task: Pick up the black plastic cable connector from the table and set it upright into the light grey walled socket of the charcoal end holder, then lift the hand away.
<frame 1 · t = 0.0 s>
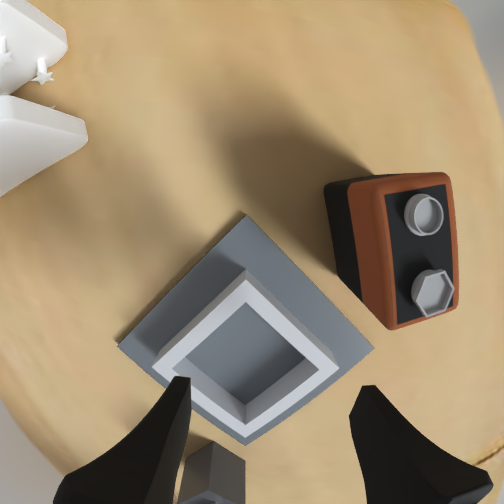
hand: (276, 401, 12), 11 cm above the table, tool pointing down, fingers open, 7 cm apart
battery: (358, 226, 22), on the table
cable organizer: (17, 127, 20), on the table
connector: (215, 459, 26), on the table
end holder: (245, 350, 23), on the table
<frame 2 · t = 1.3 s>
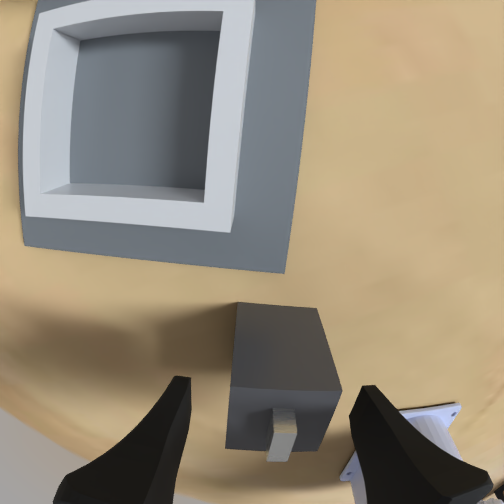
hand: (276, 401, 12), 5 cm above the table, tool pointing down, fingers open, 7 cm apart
connector: (272, 337, 17), on the table
end holder: (143, 107, 13), on the table
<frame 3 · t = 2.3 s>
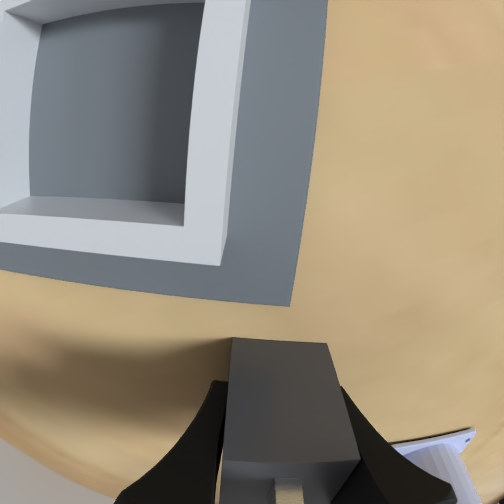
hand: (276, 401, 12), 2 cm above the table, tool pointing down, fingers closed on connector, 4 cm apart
connector: (274, 375, 14), on the table, touching gripper
end holder: (112, 100, 10), on the table
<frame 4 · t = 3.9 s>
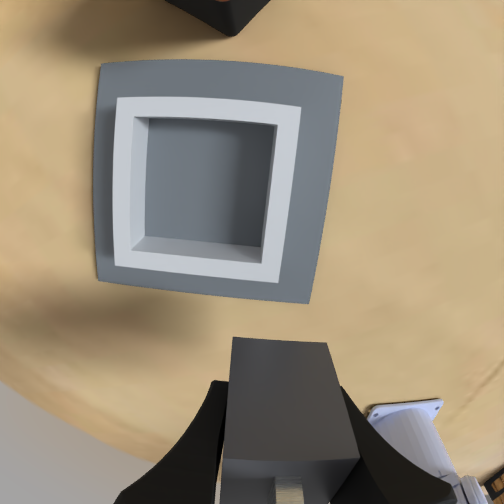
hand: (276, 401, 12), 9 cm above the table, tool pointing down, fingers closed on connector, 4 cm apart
connector: (274, 374, 14), point 7 cm above the table, touching gripper
end holder: (206, 180, 18), on the table
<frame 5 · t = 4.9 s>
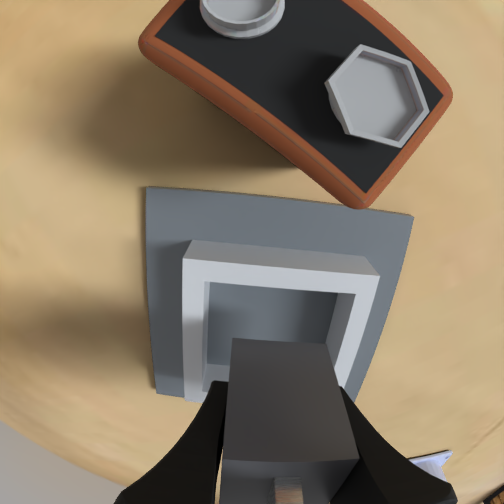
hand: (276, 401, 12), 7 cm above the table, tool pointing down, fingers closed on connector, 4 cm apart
battery: (277, 96, 14), on the table
connector: (273, 375, 14), point 5 cm above the table, touching gripper
ammunition clip: (502, 485, 36), on the table
end holder: (269, 318, 18), on the table
when the fingers open (4 cm above the table, at t = 5.8 s): connector drops 1 cm, resting on end holder.
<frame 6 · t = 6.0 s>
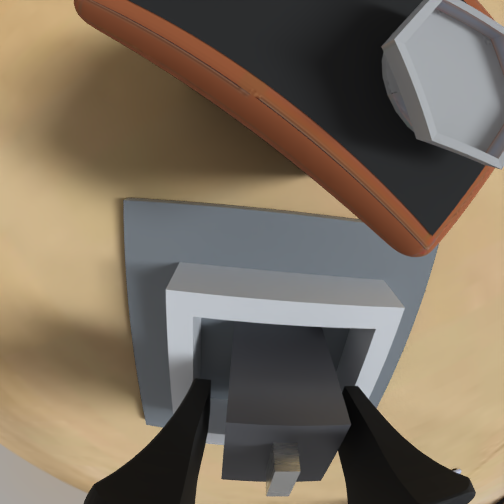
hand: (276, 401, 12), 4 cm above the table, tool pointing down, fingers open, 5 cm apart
battery: (282, 87, 12), on the table
connector: (272, 356, 15), resting on end holder
end holder: (272, 349, 16), on the table
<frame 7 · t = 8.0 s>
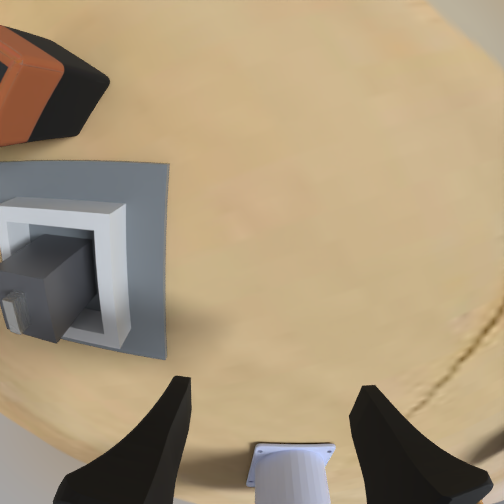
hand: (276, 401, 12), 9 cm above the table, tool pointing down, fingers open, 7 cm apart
battery: (63, 85, 16), on the table
connector: (69, 263, 20), resting on end holder
end holder: (72, 260, 20), on the table
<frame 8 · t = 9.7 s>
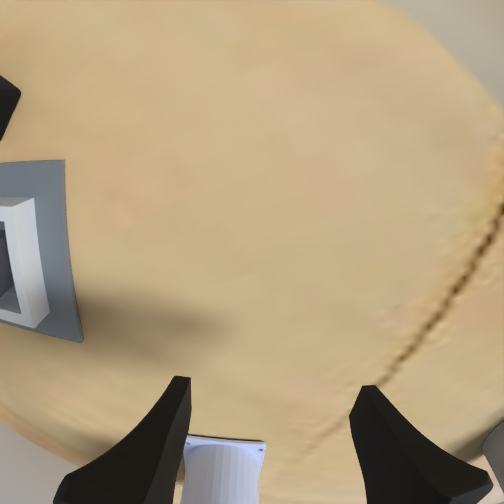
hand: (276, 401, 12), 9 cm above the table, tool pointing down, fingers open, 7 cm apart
connector: (0, 253, 20), resting on end holder
end holder: (4, 250, 20), on the table
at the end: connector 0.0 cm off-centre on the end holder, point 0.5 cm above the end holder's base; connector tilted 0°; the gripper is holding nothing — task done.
